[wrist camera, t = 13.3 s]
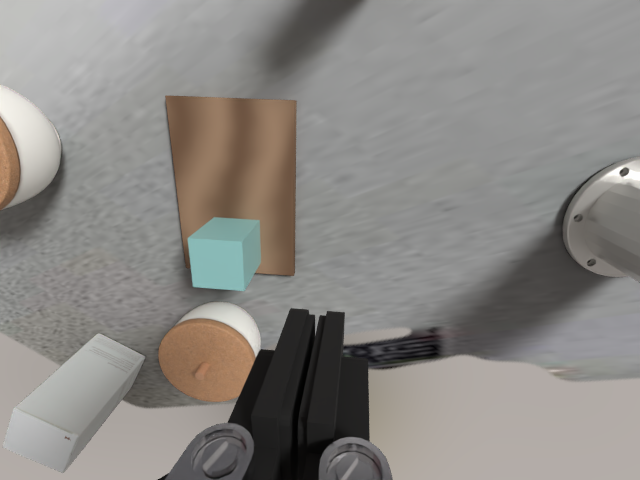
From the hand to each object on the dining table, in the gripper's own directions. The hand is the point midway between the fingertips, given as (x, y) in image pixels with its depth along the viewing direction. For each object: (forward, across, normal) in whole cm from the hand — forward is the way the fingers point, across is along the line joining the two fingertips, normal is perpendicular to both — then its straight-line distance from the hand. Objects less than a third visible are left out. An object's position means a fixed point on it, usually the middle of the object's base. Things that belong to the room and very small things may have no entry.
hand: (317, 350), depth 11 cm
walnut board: (+27, +12, +2) cm, 30 cm away
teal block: (+26, +12, +7) cm, 30 cm away
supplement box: (+27, +32, +26) cm, 49 cm away
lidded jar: (+27, +15, +19) cm, 36 cm away
